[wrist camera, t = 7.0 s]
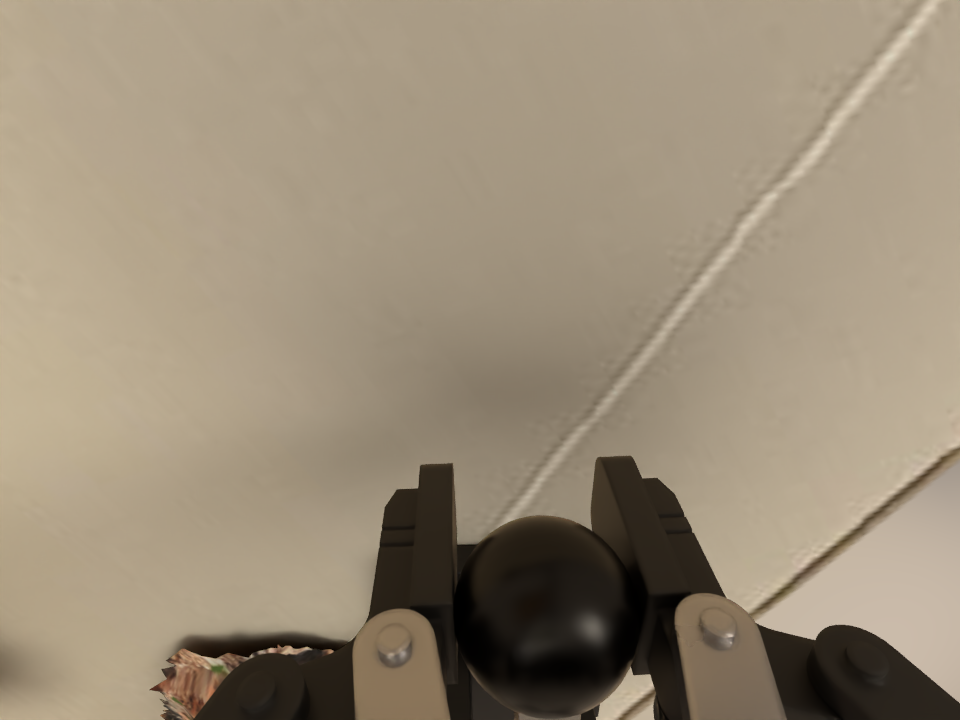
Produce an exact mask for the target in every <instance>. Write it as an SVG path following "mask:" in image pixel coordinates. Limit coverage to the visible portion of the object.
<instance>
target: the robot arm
mask: <svg viewBox="0 0 960 720" xmlns="http://www.w3.org/2000/svg"><path fill="white" fill-rule="evenodd" d="M591 524H592V530H593V532H594V533H596V534H597V535H598V536H599V537H601V538H602V539H603V540H604V541H605V542H606V543H607V544H608V545H609V546H610V547H611V548H612V549H613V550H614V551H615V553H616V554H617V555H618V557H619V558H620V559H621V561H622V563H623V564H624V566H625V568H626V570H627V571H628V573H629V575H630V578H631V580H632V583H633V586H634V589H635V592H636V596H637V601H638V607H639V616H640V630H639V639H638V644H637V648H636V652H635V656H634V659H633V661H632V664H631V668H632V672H633V675H645V674H650V675H651V678H652V681H653V684H654V687H655V691H656V695H655V699H654V706H653V707H654V719H655V720H960V703H959V702H957V701H956V700H955V699H954V698H953V697H952V696H950V695H949V694H948V693H947V692H946V691H944V690H943V689H942V688H941V687H940V686H938V685H937V684H936V683H935V682H934V681H933V680H931V679H930V678H929V677H928V676H927V675H925V674H924V673H923V672H922V671H921V670H919V669H918V668H917V667H916V666H915V665H913V664H912V663H911V662H910V661H909V660H907V659H906V658H905V657H904V656H903V655H902V654H900V653H899V652H898V651H897V650H896V649H894V648H893V647H892V646H891V645H889V644H888V643H887V642H886V641H884V640H883V639H880V638H879V637H878V636H876V635H874V634H872V633H870V632H868V631H866V630H863V629H861V628H857V627H853V626H848V625H834V626H829V627H827V628H825V629H823V630H822V631H821V632H820V633H819V634H818V636H817V638H816V640H811V639H807V638H803V637H799V636H795V635H790V634H786V633H783V632H778V631H774V630H771V629H768V628H766V627H763V626H760V625H759V624H757V623H755V621H754V620H753V619H752V617H751V616H750V615H749V614H748V613H747V612H746V611H745V610H744V609H743V608H742V607H740V606H739V605H738V604H736V603H735V602H733V601H731V600H729V599H727V598H726V596H725V595H724V593H723V591H722V589H721V587H720V585H719V583H718V581H717V579H716V577H715V575H714V573H713V571H712V569H711V567H710V565H709V563H708V561H707V559H706V557H705V555H704V553H703V551H702V549H701V546H700V544H699V542H698V540H697V538H696V536H695V534H694V533H692V528H691V526H690V524H689V522H688V520H687V518H686V517H684V512H683V510H682V508H681V506H680V504H679V502H678V500H677V498H676V496H675V494H674V493H673V492H672V491H671V490H670V489H669V488H667V487H666V486H665V485H664V484H663V483H662V482H661V481H660V480H659V479H658V478H645V479H642V477H641V475H640V472H639V470H638V468H637V465H636V463H635V461H634V459H633V458H632V457H631V456H613V457H598V458H597V460H596V464H595V473H594V482H593V491H592V501H591ZM456 586H457V525H456V505H455V488H454V471H453V463H448V464H426V465H421V466H420V474H419V487H418V489H397V490H396V492H395V493H394V495H393V496H392V498H391V499H390V501H389V502H388V504H387V505H386V506H385V511H384V518H383V524H382V531H381V538H380V548H379V552H378V558H377V565H376V572H375V579H374V586H373V592H372V599H371V606H370V611H369V616H368V618H367V621H366V623H365V624H364V626H363V627H362V628H361V630H360V631H359V633H358V634H357V636H356V637H355V638H354V639H353V640H352V641H350V642H349V643H348V644H347V645H345V646H344V647H342V648H340V649H339V650H337V651H335V652H333V653H330V654H328V655H325V656H323V657H320V658H317V659H315V660H312V661H309V662H307V663H304V664H301V665H299V664H298V663H297V662H296V661H295V660H294V659H293V658H291V657H289V656H287V655H284V654H281V653H266V654H261V655H258V656H255V657H253V658H250V659H248V660H246V661H245V662H243V663H241V664H240V665H239V666H237V667H236V668H235V669H234V670H232V671H231V672H230V673H229V674H228V675H227V677H226V678H225V679H224V680H223V681H222V683H221V684H220V685H219V686H218V688H217V689H216V690H215V692H214V693H213V694H212V696H211V697H210V698H209V700H208V701H207V702H206V703H205V705H204V706H203V707H202V709H201V710H200V711H199V713H198V714H197V715H196V716H195V718H194V719H193V720H451V719H450V713H449V708H448V703H447V685H451V684H458V642H457V638H456V635H455V619H454V597H455V591H456Z"/></svg>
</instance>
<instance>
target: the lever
mask: <svg viewBox="0 0 960 720" xmlns="http://www.w3.org/2000/svg"><path fill="white" fill-rule="evenodd" d="M454 619H455V635H456V638H457V642H458V645H459V649H460V652H461V654H462V657H463V659H464V661H465V663H466V665H467V667H468V669H469V670H470V672H471V674H472V675H473V677H474V678H475V679H476V681H477V682H478V683H479V684H480V685H481V687H482V688H483V689H484V690H485V691H486V692H487V693H488V694H489V695H490V696H492V697H493V698H494V699H495V700H497V701H498V702H499V703H501V704H502V705H504V706H505V707H507V708H509V709H511V710H513V711H514V720H581V714H582V713H584V712H586V711H589V710H591V709H592V708H594V707H596V706H597V705H599V704H600V703H601V702H603V701H604V700H605V699H606V698H608V697H609V696H610V695H611V694H612V693H613V692H614V691H615V690H616V689H617V687H618V686H619V685H620V683H621V682H622V681H623V679H624V677H625V675H626V674H627V672H628V670H629V668H630V666H631V664H632V661H633V659H634V656H635V652H636V648H637V644H638V639H639V630H640V616H639V607H638V601H637V596H636V592H635V589H634V586H633V583H632V580H631V578H630V575H629V573H628V571H627V570H626V568H625V566H624V564H623V563H622V561H621V559H620V558H619V557H618V555H617V554H616V553H615V551H614V550H613V549H612V548H611V547H610V546H609V545H608V544H607V543H606V542H605V541H604V540H603V539H602V538H601V537H599V536H598V535H597V534H596V533H594V532H593V531H591V530H589V529H588V528H586V527H584V526H582V525H581V524H579V523H576V522H574V521H571V520H568V519H564V518H560V517H554V516H529V517H524V518H519V519H516V520H514V521H511V522H508V523H506V524H504V525H502V526H500V527H499V528H497V529H496V530H494V531H493V532H491V533H490V534H489V535H488V536H486V537H485V538H484V539H483V540H482V541H481V542H480V543H479V544H478V545H477V546H476V548H475V549H474V550H473V552H472V553H471V555H470V556H469V558H468V559H467V561H466V563H465V565H464V567H463V569H462V571H461V574H460V577H459V580H458V583H457V586H456V591H455V597H454Z"/></svg>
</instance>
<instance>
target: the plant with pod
mask: <svg viewBox="0 0 960 720" xmlns="http://www.w3.org/2000/svg"><path fill="white" fill-rule="evenodd" d="M266 653H281V654H284V655H287V656H289V657H291V658H293V659H294V660H295V661H296V662H297V663H298V664H299V665H301V664H304V663H307V662H309V661H312V660H315V659H317V658H320V657H323V656H325V655H328V654H330V653H333V650H330V649H327V650H319V649H310V648H309V647H305V648H301V649H294V648H292V647H291V646H285V647H283V648H282V647H281V646H279V645H278V648H269V649H266V650H262V651H258V652H254V653H252V654H251V656H250V657H249V658H246V657H242V656H239V655H235V654H231V653H226V654H224V655H222V656H220V657H218V658H216V659H214V658H210V657H206V656H204V657H202V656H200V655H198V654H196V653H192V652H190V651H187V650H185V649H181V650H180V651H179V652H178V653H176V654H175V655H173V656H172V657H171V658H169V659H168V660H166V661H167V662H170V663H172V664H175V665H177V666H174V667H170V668H165V669H161V670H162V671H163V673H164V675H165V676H166V678H167V679H166V680H165V681H163V682H161V683H160V684H158V685H156V686H155V687H153V688H151V689H150V690H153V691H160V692H161V693H162V694H164V696H165V698H166V699H167V700H168V702H167V701H164V700H162V699H160V700H161V701H162V702H163V703H164V704H165V705H164V707H166V708H167V709H169V710H163V711H165V712H166V713H164V714H162V715H160V716H162V717H163V718H164V719H165V720H193V719H194V718H195V716H196V715H197V714H198V713H199V711H200V710H201V709H202V707H203V706H204V705H205V703H206V702H207V701H208V700H209V698H210V697H211V696H212V694H213V693H214V692H215V690H216V689H217V688H218V686H219V685H220V684H221V683H222V681H223V680H224V679H225V678H226V677H227V675H228V674H229V673H230V672H231V671H232V670H234V669H235V668H236V667H237V666H239V665H240V664H241V663H243V662H245V661H246V660H248V659H250V658H253V657H255V656H258V655H261V654H266ZM168 711H169V712H168Z"/></svg>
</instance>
